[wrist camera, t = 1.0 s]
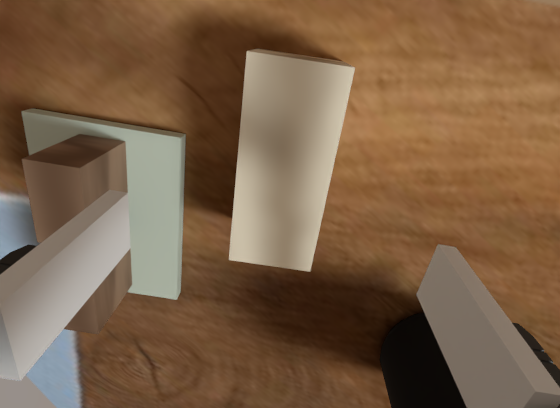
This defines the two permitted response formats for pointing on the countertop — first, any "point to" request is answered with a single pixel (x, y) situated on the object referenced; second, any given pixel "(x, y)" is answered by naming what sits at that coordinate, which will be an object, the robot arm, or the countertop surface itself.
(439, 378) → the coffee jar
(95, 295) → the post
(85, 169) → the post
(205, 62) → the countertop surface
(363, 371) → the countertop surface
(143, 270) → the board
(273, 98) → the lintel
